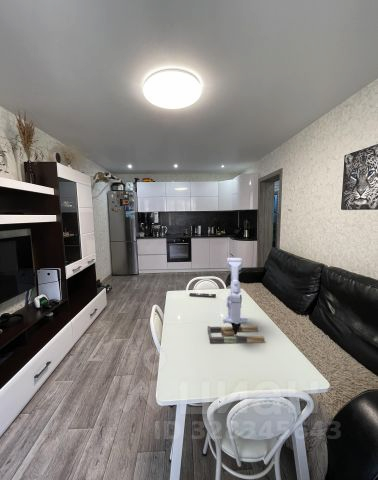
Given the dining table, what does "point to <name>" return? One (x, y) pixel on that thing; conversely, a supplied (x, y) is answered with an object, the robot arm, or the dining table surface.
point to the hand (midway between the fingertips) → (235, 333)
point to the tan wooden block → (227, 332)
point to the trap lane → (236, 338)
